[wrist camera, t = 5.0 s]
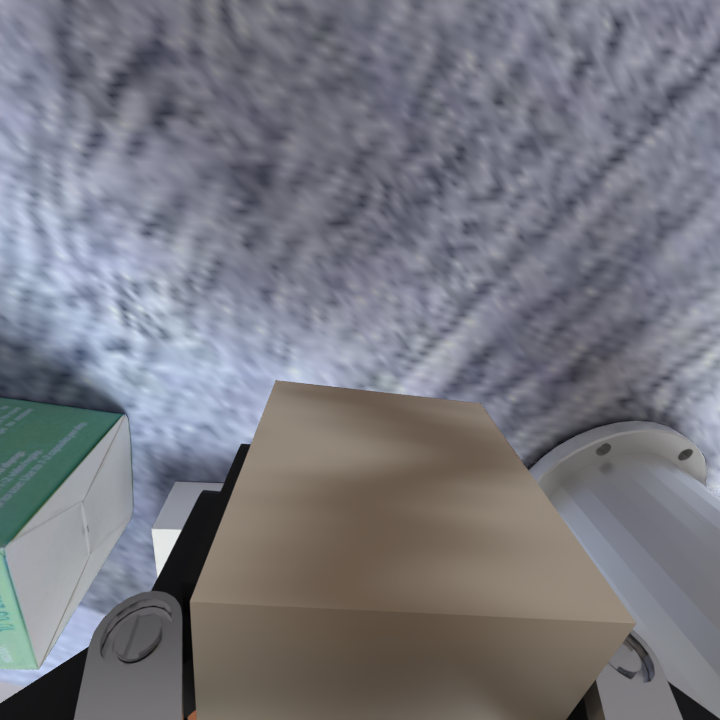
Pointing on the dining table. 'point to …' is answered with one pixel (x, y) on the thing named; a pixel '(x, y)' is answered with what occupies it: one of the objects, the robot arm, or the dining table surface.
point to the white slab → (175, 516)
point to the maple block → (394, 572)
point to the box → (56, 517)
